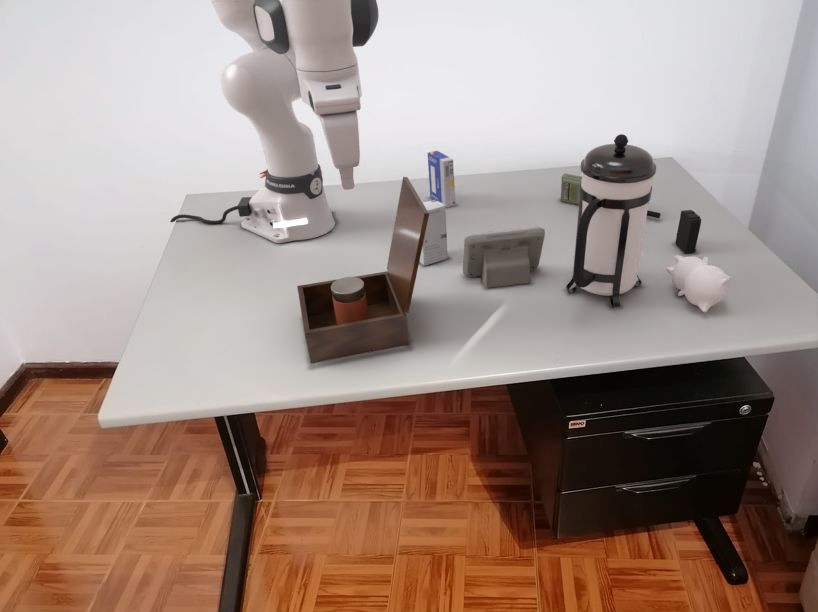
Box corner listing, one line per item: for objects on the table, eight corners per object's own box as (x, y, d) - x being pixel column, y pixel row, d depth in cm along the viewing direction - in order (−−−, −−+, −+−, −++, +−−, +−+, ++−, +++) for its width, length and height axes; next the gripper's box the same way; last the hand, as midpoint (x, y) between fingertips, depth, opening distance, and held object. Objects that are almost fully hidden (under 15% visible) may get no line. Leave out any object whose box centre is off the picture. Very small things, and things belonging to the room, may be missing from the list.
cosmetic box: (424, 266, 133) (420, 213, 126) (413, 258, 136) (409, 205, 129) (449, 258, 136) (446, 205, 129) (438, 250, 139) (435, 198, 132)
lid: (424, 213, 96) (429, 213, 97) (403, 176, 109) (407, 177, 109) (404, 312, 105) (408, 313, 106) (386, 268, 118) (390, 268, 118)
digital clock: (540, 265, 132) (543, 218, 126) (544, 287, 125) (547, 238, 119) (463, 266, 133) (461, 219, 126) (462, 289, 126) (460, 240, 119)
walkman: (430, 197, 162) (427, 151, 155) (439, 195, 163) (437, 149, 156) (445, 208, 157) (443, 160, 150) (455, 205, 158) (453, 158, 151)
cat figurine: (680, 240, 120) (720, 267, 110) (715, 259, 125) (756, 287, 116) (653, 279, 123) (689, 309, 113) (688, 296, 128) (726, 326, 119)
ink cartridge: (695, 253, 135) (702, 218, 130) (685, 254, 135) (692, 219, 130) (684, 242, 139) (691, 208, 134) (675, 243, 139) (681, 209, 134)
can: (331, 332, 113) (323, 288, 108) (351, 316, 117) (344, 273, 112) (357, 340, 111) (350, 296, 105) (376, 324, 115) (370, 281, 109)
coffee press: (553, 272, 130) (562, 123, 112) (630, 267, 131) (651, 119, 113) (570, 318, 116) (584, 157, 98) (656, 313, 117) (686, 152, 99)
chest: (311, 367, 106) (304, 333, 102) (303, 317, 119) (297, 285, 115) (409, 348, 110) (406, 315, 106) (392, 302, 122) (388, 270, 118)
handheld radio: (564, 197, 160) (661, 217, 149) (559, 202, 158) (657, 223, 147) (566, 171, 156) (665, 191, 145) (560, 176, 154) (661, 196, 143)
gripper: (303, 72, 101) (319, 158, 109) (314, 106, 85) (331, 203, 93) (343, 68, 102) (355, 154, 110) (361, 100, 86) (374, 197, 94)
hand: (344, 177), depth 101 cm, fingers open, 8 cm apart
